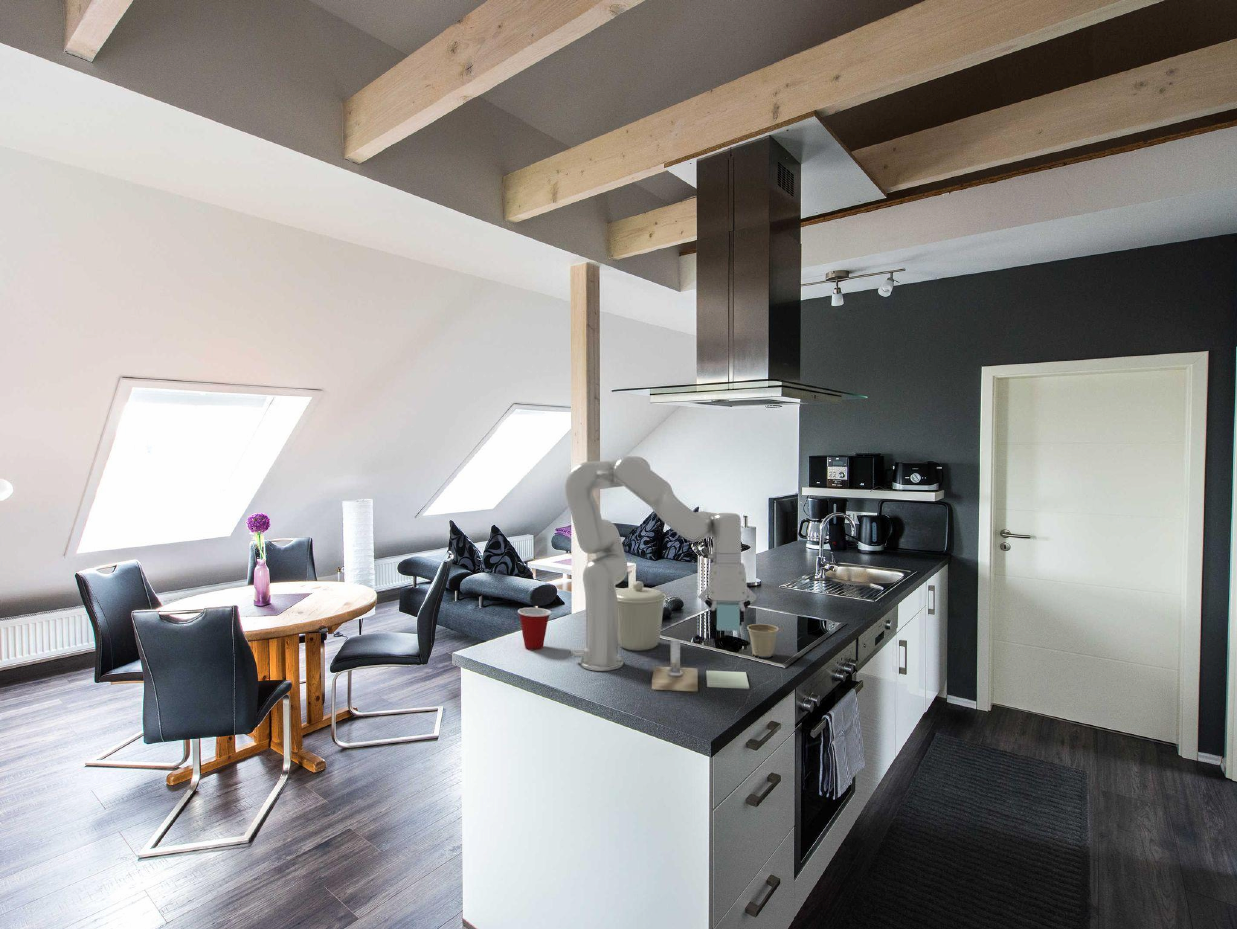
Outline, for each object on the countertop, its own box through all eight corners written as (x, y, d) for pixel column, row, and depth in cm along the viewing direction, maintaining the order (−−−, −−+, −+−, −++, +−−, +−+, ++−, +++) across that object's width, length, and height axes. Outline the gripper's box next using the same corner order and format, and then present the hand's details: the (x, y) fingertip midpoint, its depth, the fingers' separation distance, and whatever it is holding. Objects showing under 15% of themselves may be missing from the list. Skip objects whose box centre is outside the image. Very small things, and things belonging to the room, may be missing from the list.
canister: (666, 638, 210) (666, 576, 210) (665, 655, 192) (665, 587, 192) (613, 637, 212) (613, 575, 212) (607, 654, 194) (607, 586, 194)
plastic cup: (555, 650, 198) (555, 612, 198) (521, 654, 194) (521, 615, 194) (546, 640, 208) (546, 604, 208) (514, 644, 204) (514, 607, 204)
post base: (651, 689, 165) (651, 681, 165) (654, 673, 176) (654, 666, 176) (697, 691, 163) (697, 683, 163) (697, 675, 175) (697, 668, 175)
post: (667, 677, 168) (667, 643, 168) (668, 672, 172) (668, 639, 172) (682, 677, 168) (682, 644, 167) (682, 672, 172) (682, 639, 171)
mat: (707, 686, 166) (707, 684, 166) (706, 672, 177) (706, 670, 177) (749, 688, 165) (749, 686, 165) (745, 674, 176) (745, 672, 176)
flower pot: (741, 652, 195) (741, 625, 195) (766, 649, 198) (766, 622, 198) (758, 662, 186) (758, 633, 186) (784, 658, 190) (784, 630, 190)
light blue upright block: (717, 630, 168) (716, 605, 168) (716, 624, 174) (716, 600, 174) (739, 630, 167) (739, 605, 167) (738, 624, 173) (738, 600, 173)
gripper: (695, 560, 168) (696, 627, 168) (760, 561, 166) (761, 628, 166) (695, 556, 175) (696, 620, 176) (758, 556, 173) (758, 621, 173)
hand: (727, 623), depth 171 cm, fingers closed on light blue upright block, 5 cm apart
